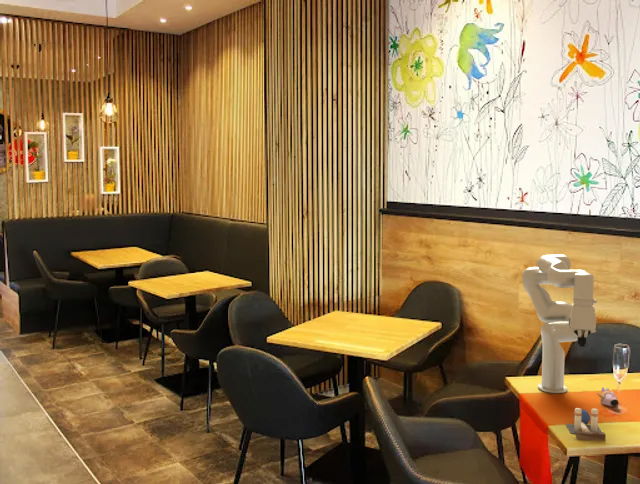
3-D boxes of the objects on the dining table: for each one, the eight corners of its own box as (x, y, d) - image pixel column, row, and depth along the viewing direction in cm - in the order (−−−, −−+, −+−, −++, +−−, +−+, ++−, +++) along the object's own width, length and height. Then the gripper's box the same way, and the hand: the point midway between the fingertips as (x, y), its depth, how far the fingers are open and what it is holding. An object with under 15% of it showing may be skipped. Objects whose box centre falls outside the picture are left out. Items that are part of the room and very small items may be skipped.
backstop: (575, 437, 244) (576, 431, 244) (603, 438, 243) (604, 432, 243) (577, 439, 242) (577, 433, 242) (605, 440, 241) (605, 434, 241)
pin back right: (573, 430, 251) (574, 407, 250) (580, 430, 251) (580, 408, 250) (574, 432, 249) (575, 410, 248) (581, 433, 248) (582, 410, 247)
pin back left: (589, 430, 250) (590, 408, 249) (596, 431, 250) (597, 408, 249) (591, 433, 248) (592, 410, 247) (598, 433, 247) (599, 410, 246)
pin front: (577, 423, 253) (583, 432, 244) (582, 420, 253) (589, 429, 244) (580, 429, 253) (586, 438, 244) (586, 426, 253) (592, 435, 244)
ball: (577, 417, 253) (573, 427, 256) (593, 419, 252) (589, 428, 256) (574, 405, 257) (571, 414, 261) (590, 406, 257) (586, 416, 260)
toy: (615, 386, 285) (628, 399, 270) (612, 399, 286) (625, 413, 271) (593, 383, 286) (605, 396, 271) (591, 396, 287) (602, 410, 272)
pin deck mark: (565, 424, 257) (565, 424, 257) (597, 425, 255) (597, 425, 255) (570, 433, 248) (570, 433, 248) (603, 434, 246) (603, 434, 246)
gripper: (599, 301, 271) (597, 343, 273) (562, 300, 273) (560, 343, 275) (604, 304, 264) (603, 348, 266) (566, 304, 266) (565, 347, 268)
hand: (581, 345), depth 271 cm, fingers closed
